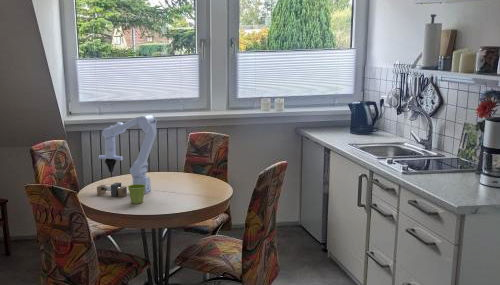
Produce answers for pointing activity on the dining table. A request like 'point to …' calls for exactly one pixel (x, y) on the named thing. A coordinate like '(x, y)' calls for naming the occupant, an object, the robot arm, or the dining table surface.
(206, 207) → the dining table surface
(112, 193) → the gray square nut
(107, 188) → the brown dumbbell
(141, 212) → the dining table surface
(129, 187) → the plant pot
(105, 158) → the robot arm
